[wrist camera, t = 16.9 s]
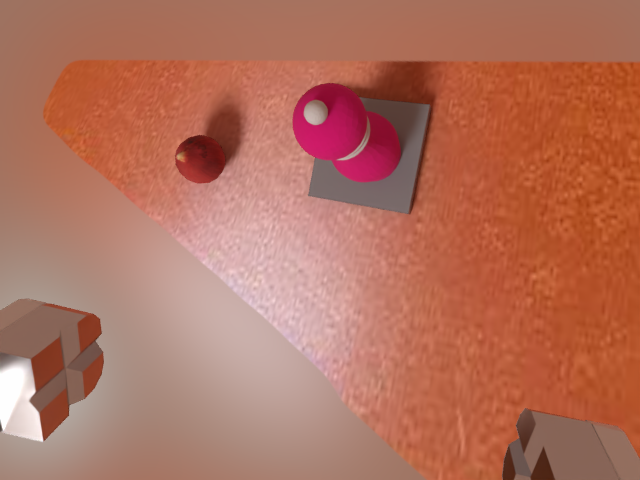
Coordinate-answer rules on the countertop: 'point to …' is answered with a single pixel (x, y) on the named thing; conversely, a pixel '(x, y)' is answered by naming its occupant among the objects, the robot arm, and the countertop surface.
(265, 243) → the countertop surface
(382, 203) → the silver flat square block
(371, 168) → the pepper mill
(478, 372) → the countertop surface
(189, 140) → the onion
